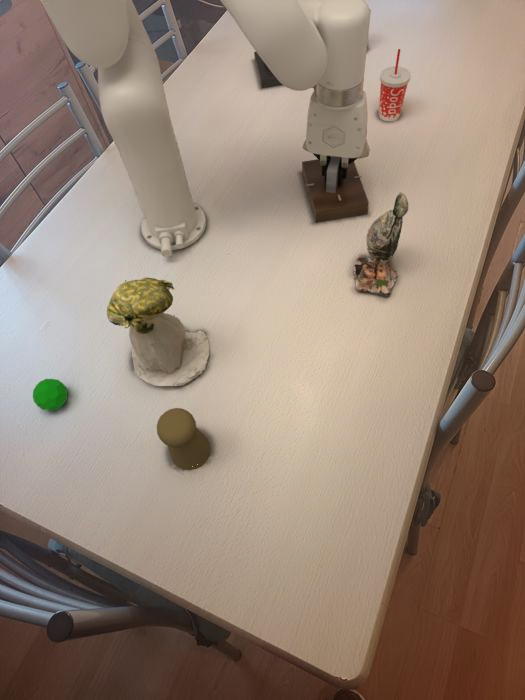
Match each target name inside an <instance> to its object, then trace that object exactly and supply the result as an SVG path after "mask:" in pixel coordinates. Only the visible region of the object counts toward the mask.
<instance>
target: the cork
mask: <svg viewBox="0 0 525 700" xmlns="http://www.w3.org/2000/svg"><path fill="white" fill-rule="evenodd" d="M156 434H157V436H158V438H159V440H160V441H161V442H162V443H163V444H164V445H166V446H167V448H168V452H169V455H170V458H171V460H172V462H173V464H174V465H175V466H176V467H177V468H179V469H181V470H184V471H194V470H197V469H199V468H200V467H202V466H203V465H205V463H207V462H208V459H209V457H210V456H211V451H212V447H211V443H210V441H209V439H208V437H207V436H206V435H205V434H204V433H203V432H202V431H201V430H200V429H199V428H197V422H196V420H195V418H194V416H193V414H192V413H191V412H190V411H188V410H187V409H184V408H182V407H181V408H180V407H173V408H170V409H168V410H166V411H164V413H162V414H161V415H160V416H159V418H158V420H157V423H156ZM197 464H198V465H197ZM192 466H193V467H192Z"/></svg>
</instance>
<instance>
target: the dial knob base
mask: <svg viewBox="0 0 525 700" xmlns="http://www.w3.org/2000/svg"><path fill="white" fill-rule="evenodd" d="M301 175H302V179H303V182H304V185H305V189H306V193H307V196H308V200H309V205H310V208H311V212H312V215H313V219H314V222H315V224H316V223H322V222H323V223H324V222H328V221H329V222H330V221H334V220H335V221H336V220H342V219H347V218H354V217H360V216H364V215H365V216H366V215H368V212H369V211H368V210H369V204H370V203H369V200H368V197H367V194H366V191H365V189H364V186H363V182H362V180H361V178H363V177H362V175H359V172H358V169H357V165H356V162H355V161H354V162H352V163H351V164H349V165H348V171H347V177H346V179H343V180H342V184H341V185H338V186H337V189H336V193H329V192H326V183H324V180H325V176H322V165H321V164H320V161H319V160H318V159H317V158H316V159H311V160H305V161H302V162H301Z"/></svg>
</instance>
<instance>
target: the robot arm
mask: <svg viewBox="0 0 525 700" xmlns="http://www.w3.org/2000/svg"><path fill="white" fill-rule="evenodd" d="M219 1H220V3H221V4H222V5H223V6H224V8H225V9H226V10H227V12H228V13H229V15H230V16H231V18H232V19H233V20H234V22H235V24H236V25H237V26H238V28H239V30H240V31H241V32H242V33H243V35H244V37H245V38H246V40H247V41H248V42H249V44H250V46H251V47H252V48H253V50H254V52H257V54H258V55H259V56H260V58H261V59H262V60H263V61H264V63H265V64H266V65H267V67H268V68H269V69H270V70H271V72H272V73H273V74H274V76H275V77H276V78H277V79H278V80H279V82H280V83H281V84H283V85H282V86H284V87H286V88H287V89H290V91H291V90H292V91H296V92H303V91H308V90H309V89H313V92H312V93H311V96H310V99H309V104H308V109H307V117H306V130H305V131H306V133H305V139H304V141H303V144H302V150H304V151H306V152H308V153H310V154H312V155H313V156H314V157H315V158H316V159H318V160H319V161H320V164H321V165H322V176H325V180H324V183H326V180H327V169H328V166H329V163H330V159H331V156H336V157H342V159H341V161H340V165H339V168H338V183H337V184H338V185H341V184H342V180H343V179H346V177H347V171H348V165H349V164H351V163H352V162H354V163H355V161H357V160H358V159H364V158H365V159H366V158H368V157H369V156H370V154H371V149H370V145H369V143H368V140H367V134H368V100H367V93H366V91H365V90H364V83H365V82H364V81H365V72H366V71H365V70H366V60H367V53H368V44H367V42H368V41H369V33H368V32H370V23H371V22H370V21H371V13H370V10H371V9H370V10H369V8H370V7H369V4H368V3H367V1H366V0H219ZM39 2H40V4H41V5H42V7H43V9H44V10H45V12H46V13H47V15H48V16H49V18H50V20H51V21H52V23H53V25H54V27H55V29H56V30H57V32H58V34H59V35H60V38H61V39H62V41H63V42H64V45H65V46H66V48H68V50H69V51H70V53H72V54H73V56H75V58H77V59H78V60H79V61H80V62H82V63H83V64H86V65H87V66H89V67H92V68H95V69H97V86H98V100H99V106H100V112H101V115H102V119H103V121H104V125H105V127H106V129H107V131H108V133H109V135H110V136H111V138H112V140H113V142H114V145H115V146H116V148H117V151H118V153H119V156H120V158H121V161H122V163H123V166H124V169H125V171H126V172H127V175H128V179H129V181H130V183H131V186H132V188H133V191H134V194H135V196H136V199H137V201H138V204H139V206H140V210H141V211H142V214H143V219H142V221H141V225H140V226H141V227H140V229H141V233H142V236H143V238H144V240H145V242H146V243H147V244H149V246H151V247H153V248H154V249H157V250H160V253H161V256H163V257H165V258H168V257H169V258H170V257H171V256H173V251H177V250H182V249H184V248H187V247H189V246H191V245H192V244H195V242H197V241H198V240H199V239H200V238H201V237H202V235H203V234H204V233H205V230H206V227H207V219H206V215H205V212H204V210H203V209H202V207H200V206H199V205H198V204H197V203H195V202H194V200H193V197H192V193H191V190H190V185H189V182H188V178H187V173H186V171H185V170H186V169H185V167H184V163H183V158H182V155H181V152H180V148H179V144H178V140H177V137H176V133H175V130H174V127H173V122H172V119H171V113H170V110H169V106H168V101H167V97H166V93H165V87H164V81H163V77H162V73H161V66H160V61H159V58H158V56H157V55H158V54H157V53H156V50H155V48H154V45H153V43H152V41H151V39H150V36H149V34H148V32H147V29H146V28H145V25H144V23H143V22H142V19H141V17H140V15H139V12H138V10H137V8H136V6H135V4H134V2H133V0H39ZM369 22H370V23H369ZM368 43H369V42H368Z"/></svg>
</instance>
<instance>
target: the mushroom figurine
mask: <svg viewBox="0 0 525 700" xmlns="http://www.w3.org/2000/svg"><path fill="white" fill-rule="evenodd" d="M170 290H173V291H174V290H175V287H174V283H173V282H172V281H168V280H164V279H157V278H155V277H154V278H153V277H142V278H141V279H133V280H128V281H127V279H125V280H124V282H122V283H120V284H119V285H118V286H117V287H116V288H115V290H114V292H113V293H112V294H111V297H110V300H109V302H108V305H107V307H106V316H107V319H108V321H109V322H110V323H111V324H113V325H115V326H118V327H124V329H129V330H128V336H129V340H130V343H131V346H132V348H131V359H132V361H133V368H134V369H133V371H134V373H135V374H136V375H137V376H138V377H139V378H140V379H141V380H143V381H144V382H146V383H148V384H149V385H152V386H155V387H180V386H185V385H186V384H187V383H189V382H192V381H193V380H195V379H196V378H198V376H199V375H201V374H202V373H203V371H205V370H206V367H207V363H208V359H209V358H210V343H209V338H208V337H207V335H206V333H205V332H204V331H202V330H198V331H196V332H189V331H186V328H185V325H184V323H183V322H182V321H181V319H180V318H179V317H178V316H177V317H176V314H170V313H166V311H168V310H169V309H170V307H172V306H173V302H174V296H173V295H172V292H171V291H170Z"/></svg>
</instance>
